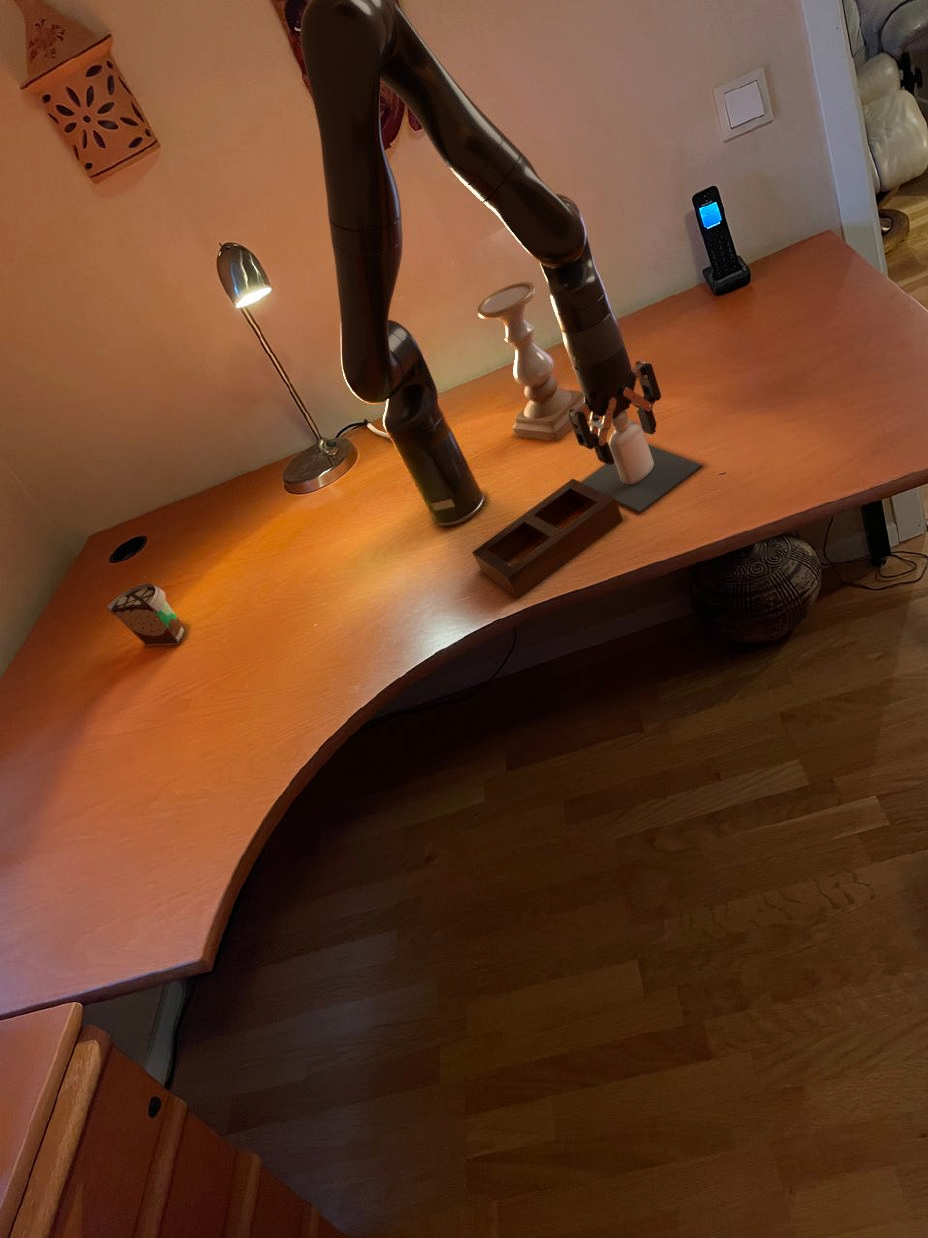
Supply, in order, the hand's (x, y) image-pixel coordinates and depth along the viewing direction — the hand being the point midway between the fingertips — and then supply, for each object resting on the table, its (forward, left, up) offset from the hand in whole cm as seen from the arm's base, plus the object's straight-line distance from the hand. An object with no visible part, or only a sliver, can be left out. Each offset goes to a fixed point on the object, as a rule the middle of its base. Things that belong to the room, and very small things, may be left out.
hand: (629, 447), depth 123 cm
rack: (+1, -18, -5) cm, 19 cm away
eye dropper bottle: (0, 0, -5) cm, 5 cm away
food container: (-47, -73, -5) cm, 87 cm away
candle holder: (-29, +4, -5) cm, 30 cm away
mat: (0, 0, -5) cm, 5 cm away
